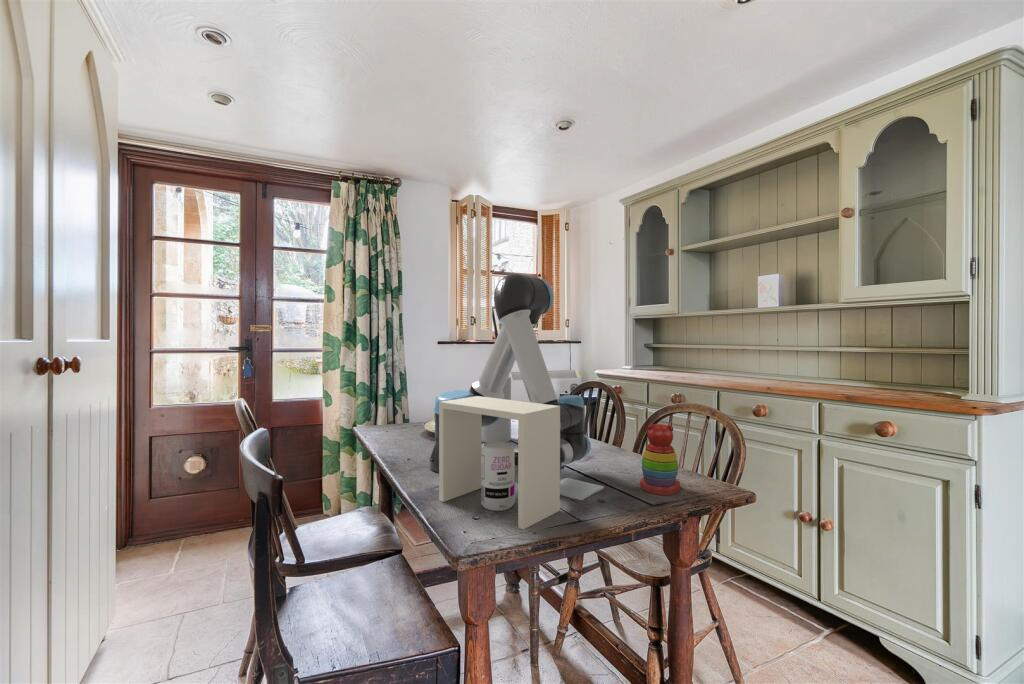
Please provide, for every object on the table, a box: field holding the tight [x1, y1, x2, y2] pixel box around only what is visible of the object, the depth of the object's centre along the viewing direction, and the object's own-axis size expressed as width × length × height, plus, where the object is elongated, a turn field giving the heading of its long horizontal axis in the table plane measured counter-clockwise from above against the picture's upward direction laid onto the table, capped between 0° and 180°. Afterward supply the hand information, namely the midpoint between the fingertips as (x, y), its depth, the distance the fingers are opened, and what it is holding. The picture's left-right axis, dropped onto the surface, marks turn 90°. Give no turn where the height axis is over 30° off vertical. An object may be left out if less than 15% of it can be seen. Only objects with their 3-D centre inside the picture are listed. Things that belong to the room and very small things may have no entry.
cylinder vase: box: [478, 375, 512, 444], centre depth 184 cm, size 12×12×25 cm
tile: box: [560, 477, 605, 501], centre depth 127 cm, size 12×12×1 cm
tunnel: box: [438, 396, 561, 530], centre depth 115 cm, size 14×27×25 cm, turn 51°
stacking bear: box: [639, 423, 682, 496], centre depth 127 cm, size 11×10×18 cm
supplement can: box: [480, 441, 516, 512], centre depth 115 cm, size 8×8×15 cm
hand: (506, 472), depth 116 cm, fingers open, 13 cm apart
